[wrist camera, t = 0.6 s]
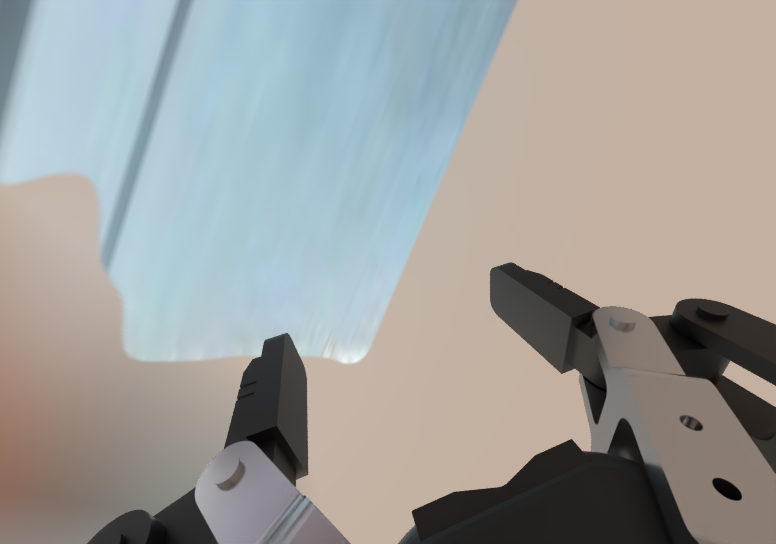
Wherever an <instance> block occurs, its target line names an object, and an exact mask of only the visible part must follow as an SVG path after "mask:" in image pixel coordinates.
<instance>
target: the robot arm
mask: <svg viewBox="0 0 776 544" xmlns="http://www.w3.org/2000/svg"><path fill="white" fill-rule="evenodd" d="M490 301H491V306H492V308H493V310H494V311H495V313H496V314H497V315H498V316H499V317H500V318H501V319H502V320H503V321H504V322H505V323H506V324H508V325H509V326H510V327H511V328H512V329H513V330H514V331H515V332H516V333H517V334H519V335H520V336H521V337H522V338H523V339H524V340H525V341H526V342H527V343H529V344H530V345H531V346H532V347H533V348H534V349H535V350H536V351H537V352H538V353H539V354H541V355H542V356H543V357H544V358H545V359H546V360H547V361H548V362H549V363H551V365H553V366H554V367H555V368H556V369H557V370H558V371H559V372H560V373H561V374H563V373H565V372H567V371H570V370H573V369H576V370H578V371H579V372H580V375H579V383H580V387H581V392H582V396H583V400H584V405H585V409H586V413H587V418H588V422H589V426H590V431H591V452H586V451H582V450H581V449H580V448H579V447H578V446H577V445H576V443H575V442H574V441H573V440H572V439H571V440H568V441H566V442H564V443H562V444H560V445H557V446H555V447H553V448H551V449H548V450H546V451H544V452H542V453H540V454H537V455H535V456H534V457H533V458H532V459H531V460H530V461H529V462H528V463H527V464H526V465H525V466H524V467H523V468H522V469H521V470H520V471H519V472H518V473H517V474H516V475H515V476H514V477H513V478H512V479H511V480H510V481H509V482H508V483H507V484H505V485H504V486H502V487H497V488H487V489H479V490H469V491H459V492H453V493H451V494H448V495H446V496H444V497H442V498H439V499H437V500H435V501H433V502H431V503H428V504H426V505H424V506H422V507H419V508H417V509H415V510H413V511H412V514H413V518H414V521H415V526H414V527H413V528H412V529H411V530H410V531H409V532H407V533H406V535H405V536H404V537H403V539H402V540H401V541H400V542H399V543H398V544H776V407H774V406H772V405H771V404H769V403H768V402H766V401H764V400H763V399H761V398H759V397H757V396H756V395H754V394H753V393H751V392H749V391H748V390H746V389H744V388H743V387H741V386H739V385H738V384H736V383H734V382H733V381H731V380H729V379H728V378H726V377H725V376H723V375H722V374H723V373H724V371H725V369H726V367H727V366H728V364H729V362H730V361H732V362H734V363H736V364H738V365H739V366H741V367H743V368H745V369H747V370H748V371H750V372H752V373H754V374H756V375H757V376H759V377H761V378H763V379H765V380H767V381H768V382H770V383H772V384H774V385H775V386H776V325H775V324H773V323H770V322H768V321H765V320H763V319H761V318H759V317H756V316H753V315H751V314H749V313H747V312H744V311H742V310H740V309H737V308H734V307H732V306H730V305H727V304H724V303H721V302H717V301H712V300H706V299H685V300H682V301H679V302H678V303H677V305H676V307H675V309H674V312H673V314H672V315H667V316H655V317H647V316H645V315H643V314H642V313H640V312H637V311H634V310H632V309H628V308H624V307H616V306H609V307H602V308H600V307H598V306H596V305H595V304H593V303H591V302H589V301H588V300H586V299H584V298H582V297H580V296H579V295H577V294H575V293H573V292H572V291H570V290H568V289H566V288H563V287H562V286H561V285H559V284H558V283H556V282H553V281H552V280H551V279H549V278H547V277H545V276H544V275H541V274H539V273H535V272H532V271H528V270H524V269H522V268H521V267H519V266H517V265H516V264H514V263H507V264H503V265H500V266H497V267H494V268H492V269H491V271H490ZM237 399H238V400H237V401H236V404H235V408H234V412H233V416H232V420H231V424H230V427H229V431H228V436H227V439H226V443H225V447H224V449H223V450H222V451H221V452H220V453H218V454H217V455H216V456H215V457H214V458H213V459H212V460H211V461H210V463H209V464H208V465H207V466H206V467H205V469H204V471H203V472H202V474H201V476H200V477H199V480H198V482H197V486H196V487H195V488H194V489H192V490H191V491H190V492H188V493H187V494H186V495H184V496H182V497H181V498H180V499H178V500H177V501H175V502H174V503H172V504H171V505H170V506H168V507H166V508H165V509H164V510H162V511H161V512H159V513H158V514H156V515H155V516H151V515H150V514H149V513H147V512H146V511H143V510H134V511H130V512H128V513H125V514H123V515H121V516H119V517H118V518H116V519H115V520H113V521H112V522H110V523H109V524H108V525H106V526H105V527H104V528H103V529H102V530H100V531H99V532H98V533H97V534H96V535H95V536H94V537H93V538H92V539H91V540H90V541H89V542H88V544H350V543H349V541H348V540H347V539H346V538H345V537H344V536H343V535H342V534H341V533H340V532H339V531H338V530H337V528H336V527H335V526H334V525H333V524H332V523H331V522H330V521H329V520H328V519H327V518H326V517H325V516H324V515H323V513H322V512H321V511H320V510H319V509H318V508H317V507H316V506H315V505H314V504H313V503H312V502H311V501H310V500H309V499H308V498H307V497H306V496H303V495H302V494H301V493H300V492H299V491H298V490H297V489H296V480H297V479H299V478H301V477H304V476H306V475H308V436H307V435H308V433H307V432H308V431H307V377H306V372H305V368H304V365H303V362H302V360H301V358H300V356H299V354H298V352H297V350H296V348H295V345H294V343H293V341H292V339H291V337H290V335H289V334H288V333H285V334H282V335H279V336H276V337H273V338H270V339H266V340H265V341H264V345H263V350H262V355H261V357H258V358H255V359H253V360H252V361H251V363H250V364H249V366H248V367H247V369H246V370H245V371H244V373H243V377H242V381H241V385H240V389H239V392H238V396H237Z"/></svg>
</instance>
